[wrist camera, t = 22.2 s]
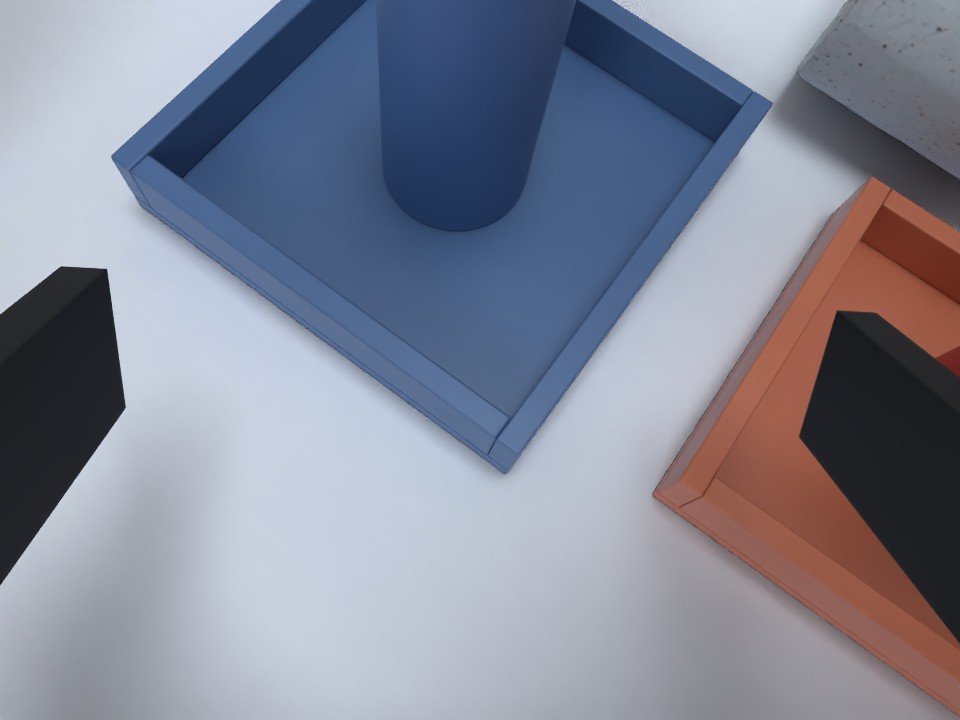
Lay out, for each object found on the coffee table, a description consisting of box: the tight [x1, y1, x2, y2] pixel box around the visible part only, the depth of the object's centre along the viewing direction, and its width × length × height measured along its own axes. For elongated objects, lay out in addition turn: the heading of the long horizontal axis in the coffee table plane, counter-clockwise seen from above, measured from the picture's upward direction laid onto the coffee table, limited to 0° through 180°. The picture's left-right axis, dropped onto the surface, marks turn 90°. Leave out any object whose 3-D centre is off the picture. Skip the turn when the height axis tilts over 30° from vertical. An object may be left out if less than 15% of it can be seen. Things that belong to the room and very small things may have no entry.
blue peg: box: [376, 0, 576, 231], centre depth 18 cm, size 4×4×12 cm
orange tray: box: [653, 177, 960, 717], centre depth 22 cm, size 11×11×2 cm
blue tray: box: [111, 0, 773, 474], centre depth 23 cm, size 13×13×3 cm
